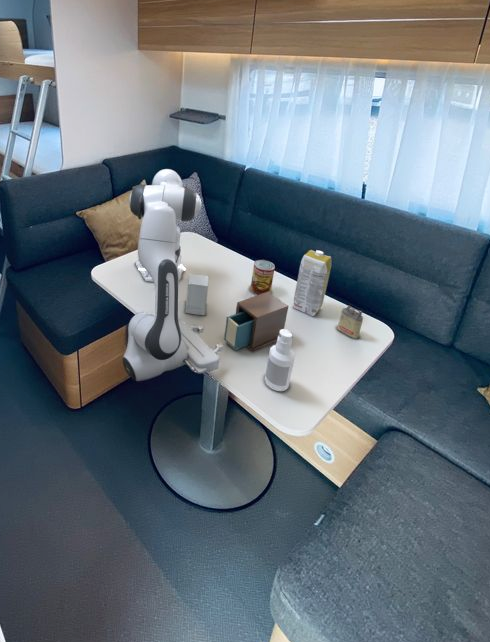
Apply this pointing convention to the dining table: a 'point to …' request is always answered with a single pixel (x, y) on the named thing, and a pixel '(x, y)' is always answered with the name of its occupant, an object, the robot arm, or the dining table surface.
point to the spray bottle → (280, 362)
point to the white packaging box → (197, 294)
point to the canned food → (262, 277)
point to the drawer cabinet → (264, 318)
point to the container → (239, 330)
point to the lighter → (350, 322)
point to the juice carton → (312, 282)
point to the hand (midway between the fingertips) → (211, 337)
